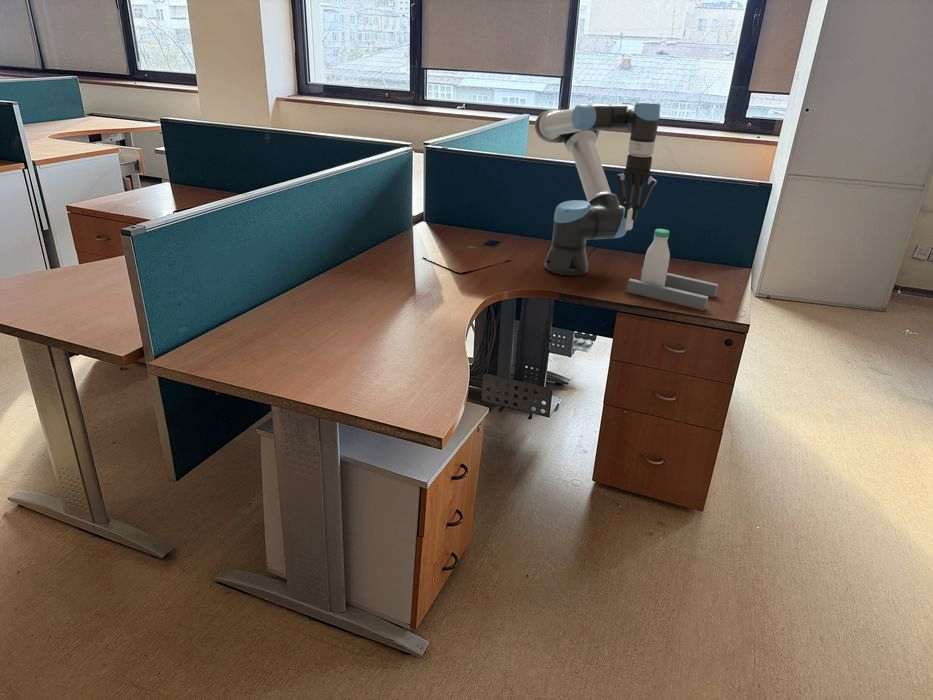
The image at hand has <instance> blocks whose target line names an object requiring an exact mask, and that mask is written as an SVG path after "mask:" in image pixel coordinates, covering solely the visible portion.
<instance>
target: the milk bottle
mask: <svg viewBox="0 0 933 700" xmlns="http://www.w3.org/2000/svg"><path fill="white" fill-rule="evenodd" d="M653 233H654V234H653V240H652V243H651V244H650V245H649V247H648V248H647V250H646V253H645V257H644V261H643V267H642V268H643V272H642V277H641V280H640V281H643V282H648V283H652V284H656V285H661V286H665V281H666V276H667V273H668V271H669V264H670V257H671V254H670V248H669V245H668V239H669V237H670V230H668V229H664V228H656V229H654V232H653ZM665 287H666V286H665Z"/></svg>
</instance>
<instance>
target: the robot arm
mask: <svg viewBox="0 0 933 700" xmlns="http://www.w3.org/2000/svg"><path fill="white" fill-rule="evenodd" d="M660 112H661V104H660V103H659V102H658V101H653V100H637V101H636V102H635V104H632V103H631V102H619V103H609V104H608V103H607V104H606V103H605V104H604V103H603V104H602V103H601V104H600V103H593V104H592V103H583V104H582V103H581V104H576V105H575V107H573V108H570V109H548V110H544V111H543V112H541V113H540V114H539V115H538V116H537V118H536V119H535V123H534V130H535V133H536V135H537V136H538V137H539V138H540V139H541V140H542V141H545V142H547V143H553V144H562V143H563V144H564V146H565V148H566V151H567V152H569V153H571V154H572V156H573V160H574V163H575V166H576V170H577V172H578V176H579V179H580V181H581V185H582V189H583V192H584V194H585V198H586V200H581V199H580V200H578V199H576V200H575V199H574V200H572V199H571V200H566V201H563V202H560V203H559V204H558V205H557V206H556V208H555V210H554V215H553V227H552V228H553V229H552V236H551V237H552V239H551V246H550V248H549V251H548V253H547V256H546V258H545V261H544V266H545V267H544V269H545V268H546V269H547V270H549V271H551V272H553V273H552V274H554V273H556V274H555V275H557V274H560V275H559V276H563V275H567V276H566V277H577V275H578V276H582V275H585V274H586V273H587V272H588V269H589V263H588V255H587V253H586V245H587V241H588V240H607V239H610V240H613V239H619V238H622V237H624V236H625V235H626V234H627V232H628V231H631V230H632V229H633V225H634V221H635V220H637V218H638V214H639V213H638V212H639V210H642V209H644V208H646V204H647V202H648V200H649V198H650V195H651V193H652V191H653V188H654V186H656V184H657V183H658V179H655V178H654V177H653V176H652V172H651V169H652V163H653V162H652V161H653V154H654V151H655V144H656V139H657V138H656V137H657V131H658V126H659V121H660V117H661V115H660ZM600 130H602V131H603V130H619V131H620V130H623V131H624V130H625V131H630V136H629V142H628V143H629V144H628V151H627V152H628V155H627V157H626V164H625V168H624V170H623V172H622V173H618V174H617V175H616V176H615V179H616V181H617V183H618V184H617V185H618V195H616V194H615V193H612V192H611V189H610V186H609V183H608V179H607V177H606V174H605V171H604V168H603V165H602V162H601V159H600V155H599V152H598V151H597V146H596V142H597V140H598V137H599V136H600V135H599V134H600ZM625 180H626V181H627V183H628V184H627V191H626V185H625ZM646 182H647V184H648V185H647V186H646V188H645V191H644V193H643V196H642V192H643V191H642V190H643V188H644V184H645V183H646ZM634 191H635V193H634ZM641 196H642V198H641ZM618 197H619V198H618ZM633 197H634V199H633ZM632 202H633V204H632ZM546 269H545V270H546ZM547 270H546V271H547ZM549 271H548V272H549ZM551 272H550V273H551ZM570 275H571V276H570Z"/></svg>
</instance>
